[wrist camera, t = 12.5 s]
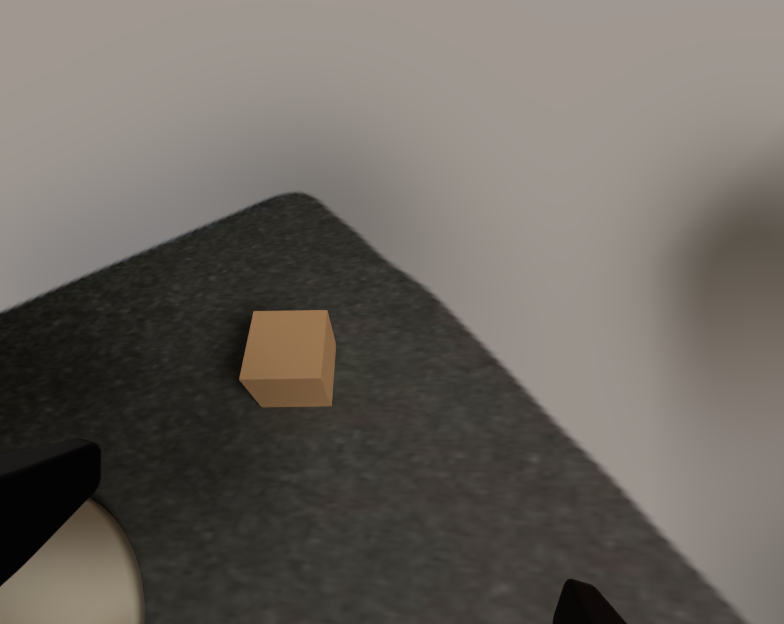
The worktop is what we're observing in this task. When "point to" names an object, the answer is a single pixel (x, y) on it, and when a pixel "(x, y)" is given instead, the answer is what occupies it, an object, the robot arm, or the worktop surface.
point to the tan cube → (290, 359)
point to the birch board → (78, 576)
